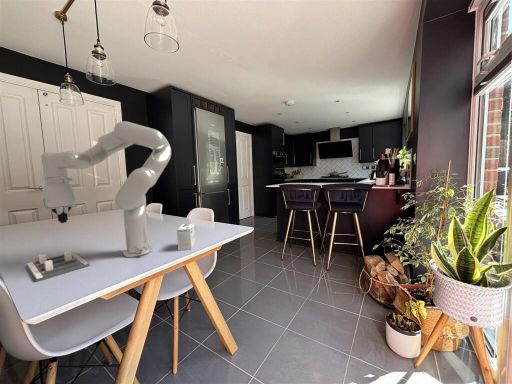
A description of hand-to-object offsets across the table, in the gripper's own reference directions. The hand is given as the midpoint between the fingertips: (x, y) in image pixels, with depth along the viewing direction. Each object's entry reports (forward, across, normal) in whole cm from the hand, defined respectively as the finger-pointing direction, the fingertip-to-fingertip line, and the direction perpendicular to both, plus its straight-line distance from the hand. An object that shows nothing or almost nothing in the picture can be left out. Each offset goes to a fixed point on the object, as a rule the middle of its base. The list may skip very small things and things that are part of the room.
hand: (63, 222), depth 96 cm
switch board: (+18, +5, +3) cm, 19 cm away
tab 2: (+17, +8, +9) cm, 21 cm away
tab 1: (+16, +8, -3) cm, 18 cm away
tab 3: (+17, +1, +3) cm, 17 cm away
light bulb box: (+19, -39, +33) cm, 55 cm away
